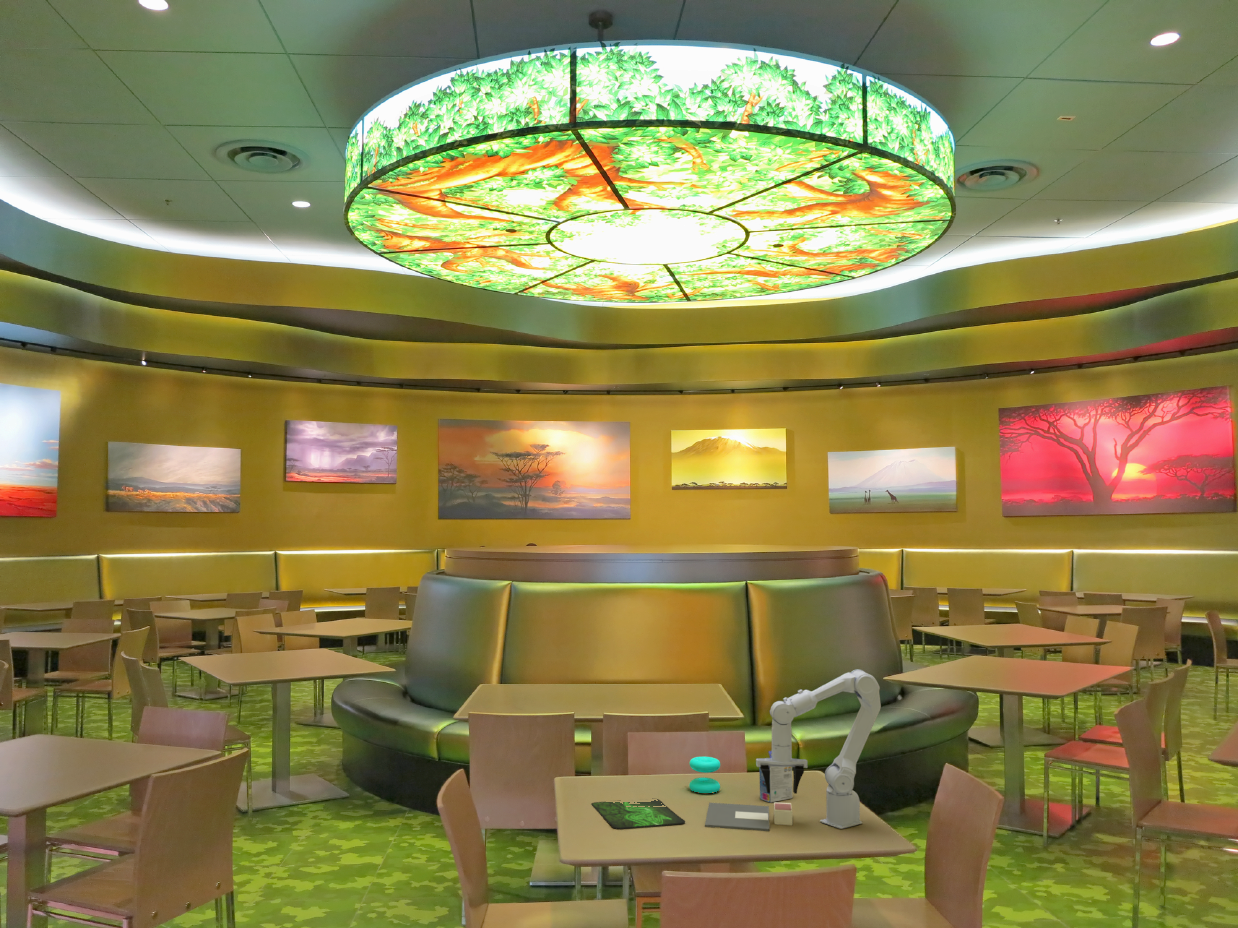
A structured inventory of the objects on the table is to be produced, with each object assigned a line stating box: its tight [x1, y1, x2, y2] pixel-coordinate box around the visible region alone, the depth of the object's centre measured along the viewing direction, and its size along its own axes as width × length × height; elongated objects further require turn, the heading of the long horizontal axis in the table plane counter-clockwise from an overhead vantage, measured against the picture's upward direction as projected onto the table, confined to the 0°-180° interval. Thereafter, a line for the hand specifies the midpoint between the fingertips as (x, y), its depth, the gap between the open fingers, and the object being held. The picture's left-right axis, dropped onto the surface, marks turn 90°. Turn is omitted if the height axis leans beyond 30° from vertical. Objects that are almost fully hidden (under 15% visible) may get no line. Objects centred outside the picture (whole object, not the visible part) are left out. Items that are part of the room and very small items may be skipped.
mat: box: [704, 802, 770, 832], centre depth 268 cm, size 18×22×1 cm
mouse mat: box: [590, 798, 686, 830], centre depth 270 cm, size 27×22×1 cm
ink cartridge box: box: [758, 750, 793, 803], centre depth 288 cm, size 10×6×14 cm, turn 124°
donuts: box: [688, 756, 721, 794], centre depth 296 cm, size 10×10×10 cm
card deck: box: [773, 801, 793, 826], centre depth 266 cm, size 5×8×4 cm, turn 171°
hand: (781, 792), depth 264 cm, fingers open, 7 cm apart
